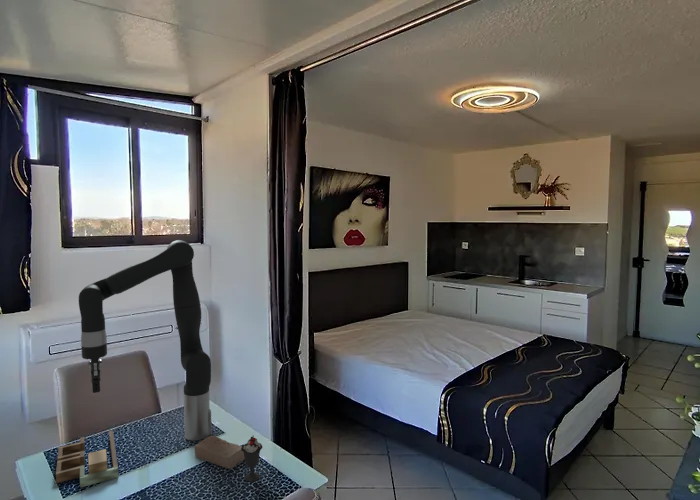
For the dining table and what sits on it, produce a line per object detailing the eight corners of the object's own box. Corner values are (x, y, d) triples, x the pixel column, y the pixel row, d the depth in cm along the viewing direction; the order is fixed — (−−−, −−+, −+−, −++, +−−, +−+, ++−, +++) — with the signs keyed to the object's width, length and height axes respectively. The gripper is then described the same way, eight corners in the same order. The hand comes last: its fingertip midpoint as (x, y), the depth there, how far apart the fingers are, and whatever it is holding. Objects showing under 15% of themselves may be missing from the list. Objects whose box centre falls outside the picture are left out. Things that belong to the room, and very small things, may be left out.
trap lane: (113, 437, 162) (112, 430, 162) (118, 477, 138) (118, 468, 137) (59, 450, 153) (59, 442, 153) (55, 494, 129) (54, 485, 129)
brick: (246, 458, 150) (246, 445, 149) (229, 470, 142) (229, 457, 142) (211, 446, 157) (211, 434, 157) (193, 457, 150) (193, 444, 150)
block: (106, 466, 144) (105, 448, 143) (107, 478, 137) (106, 460, 137) (89, 470, 141) (88, 453, 141) (89, 483, 134) (88, 465, 134)
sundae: (252, 486, 134) (251, 440, 132) (237, 479, 137) (236, 434, 136) (267, 475, 139) (266, 431, 138) (252, 469, 143) (251, 425, 142)
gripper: (107, 346, 143) (109, 396, 145) (105, 336, 155) (107, 383, 156) (81, 349, 139) (83, 401, 141) (81, 339, 151) (83, 387, 152)
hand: (96, 391), depth 148 cm, fingers closed
